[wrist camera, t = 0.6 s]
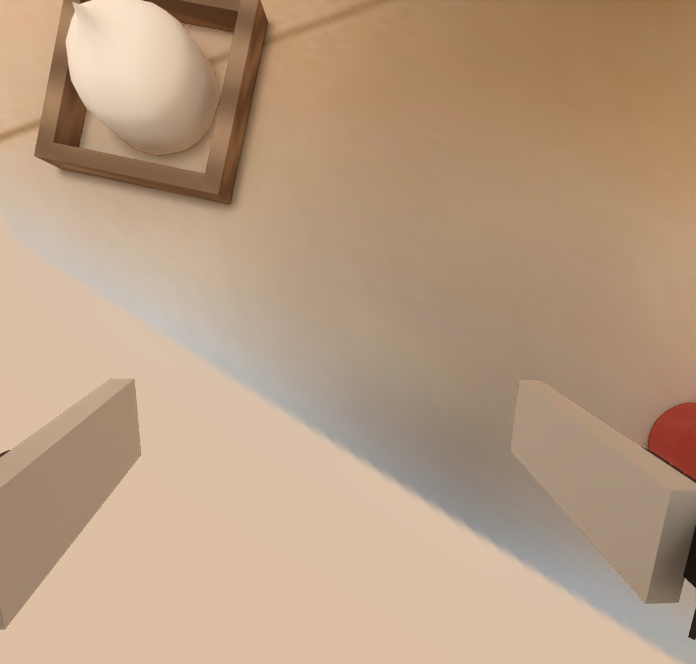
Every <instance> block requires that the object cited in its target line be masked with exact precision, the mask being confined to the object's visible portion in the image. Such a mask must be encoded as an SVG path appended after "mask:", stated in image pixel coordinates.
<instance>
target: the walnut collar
mask: <svg viewBox="0 0 696 664" xmlns="http://www.w3.org/2000/svg"><path fill="white" fill-rule="evenodd" d="M88 1H91V0H64V1H63V6H62V11H61V17H60V22H59V27H58V32H57V38H56V43H55V48H54V54H53V59H52V64H51V69H50V75H49V80H48V85H47V91H46V96H45V101H44V106H43V112H42V117H41V122H40V128H39V133H38V138H37V143H36V149H35V154H34V156H35V157H37V158H40V159H42V160H44V161H46V162H48V163H50V164H52V165H54V166H56V167H58V168H62V169H66V170H71V171H76V172H81V173H85V174H90V175H95V176H100V177H104V178H109V179H114V180H119V181H123V182H128V183H133V184H138V185H142V186H147V187H152V188H157V189H161V190H166V191H171V192H176V193H180V194H185V195H190V196H195V197H199V198H204V199H209V200H214V201H218V202H223V203H228V204H230V201H231V196H232V191H233V186H234V181H235V177H236V172H237V167H238V162H239V157H240V153H241V148H242V143H243V138H244V133H245V129H246V124H247V119H248V114H249V109H250V105H251V100H252V95H253V90H254V85H255V80H256V76H257V71H258V66H259V61H260V56H261V52H262V47H263V42H264V37H265V32H266V28H267V23H268V20H267V18H266V15H265V12H264V9H263V6H262V3H261V1H260V0H143V1H147V2H151V3H154V4H156V5H157V6H159V7H161V8H162V9H164V10H165V11H167V12H168V13H169V14H170V15H172V16H173V17H174V18H176V19H177V20H178V21H179V22H184V23H189V24H194V25H200V26H205V27H210V28H216V29H221V30H226V31H232V32H234V35H233V40H232V45H231V50H230V55H229V60H228V65H227V69H226V74H225V79H224V84H223V89H222V94H221V99H220V104H219V108H218V113H217V118H216V123H215V128H214V133H213V138H212V143H211V147H210V152H209V157H208V162H207V167H206V172H205V174H203V173H199V172H194V171H189V170H184V169H179V168H174V167H170V166H165V165H160V164H155V163H150V162H146V161H141V160H136V159H131V158H126V157H121V156H117V155H112V154H107V153H102V152H97V151H93V150H88V149H83V148H78V147H79V142H80V136H81V131H82V126H83V121H84V116H85V111H86V107H85V105H84V103H83V102H82V100H81V98H80V97H79V95H78V93H77V91H76V89H75V87H74V85H73V83H72V81H71V77H70V71H69V65H68V57H67V49H66V38H67V34H68V30H69V27H70V23H71V20H72V17H73V15H74V13H75V9H74V6H73V2H75V3H77V4H82V3H85V2H88Z"/></svg>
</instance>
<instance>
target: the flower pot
mask: <svg viewBox="0 0 696 664" xmlns="http://www.w3.org/2000/svg"><path fill="white" fill-rule="evenodd" d="M649 450H650V451H652V452H654V453H656V454H657V455H659V456H660V457H662V458H663V459H665V460H666V461H668V462H669V463H670V465H674V466H676V467H677V468H679V469H680V470H682V471H683V473H684V474H688V475H689V476H691V477H692V478H694V479H695V480H696V403H685V404H681V405H679V406H676V407H674V408H672V409H670V410H668V411H667V412H665V413H664V414H663V415H662V416H661V417H660V418H659V419H658V420H657V421H656V423H655V424H654V426H653V428H652V430H651V433H650V437H649Z"/></svg>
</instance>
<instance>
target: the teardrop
mask: <svg viewBox="0 0 696 664" xmlns="http://www.w3.org/2000/svg"><path fill="white" fill-rule="evenodd" d="M73 6H74V9H75V13H74V15H73V17H72V20H71V23H70V27H69V30H68V34H67V38H66V49H67V57H68V65H69V71H70V77H71V81H72V83H73V85H74V87H75V89H76V91H77V93H78V95H79V97H80V98H81V100H82V102H83V103H84V105H85V107H86V108H87V110H88V111H89V112H91V113H92V114H93V115H94V116H95V117H97V118H98V119H99V120H100V121H101V122H102V123H104V124H105V125H106V126H107V127H108V128H110V129H111V130H112V131H113V132H114V133H116V134H117V135H118V136H119V137H120V138H122V139H123V140H124V141H125V142H126V143H127V144H129V145H130V146H131V147H132V148H134V149H138V150H141V151H144V152H147V153H150V154H154V155H157V156H159V155H165V154H170V153H176V152H181V151H184V150H186V149H188V148H189V147H191V146H192V145H194V144H195V143H197V142H198V141H200V139H201V138H202V137H203V136H204V134H205V133H206V132H207V131H208V129H209V128H210V127H211V125H212V122H213V118H214V115H215V112H216V108H217V105H218V102H219V95H218V88H217V82H216V75H215V71H214V70H213V68H212V66H211V65H210V63H209V61H208V60H207V58H206V56H205V55H204V54H203V52H202V51H201V50H200V48H199V47H198V45H197V44H196V43H195V41H194V40H193V39H192V37H191V36H190V35H189V33H188V32H187V31H186V29H185V28H184V26H183V25H182V24H181V22H179V21H178V20H177V19H176V18H174V17H173V16H172V15H170V14H169V13H168V12H167V11H165V10H164V9H162V8H161V7H159V6H157V5H156V4H154V3H151V2H147V1H143V0H91V1H88V2H85V3H82V4H77V3H75V2H73Z"/></svg>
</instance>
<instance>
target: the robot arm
mask: <svg viewBox="0 0 696 664" xmlns="http://www.w3.org/2000/svg"><path fill="white" fill-rule="evenodd" d="M510 451H511V452H512V454H513V455H514V456H515V457H516V458H517V459H518V460H519V461H520V463H521V464H522V465H523V466H524V467H525V468H526V469H527V470H528V472H529V473H530V474H531V475H532V476H533V477H534V478H535V479H536V481H537V482H538V483H539V484H540V485H541V486H542V487H543V489H544V490H545V491H546V492H547V493H548V494H549V495H550V496H551V498H552V499H553V500H554V501H555V502H556V503H557V504H558V505H559V507H560V508H561V509H562V510H563V511H564V512H565V513H566V514H567V516H568V517H569V518H570V519H571V520H572V521H573V522H574V524H575V525H576V526H577V527H578V528H579V529H580V530H581V531H582V533H583V534H584V535H585V536H586V537H587V538H588V539H589V540H590V542H591V543H592V544H593V545H594V546H595V547H596V548H597V549H598V551H599V552H600V553H601V554H602V555H603V556H604V557H605V559H606V560H607V561H608V562H609V563H610V564H611V565H612V566H613V568H614V569H615V570H616V571H617V572H618V573H619V574H620V575H621V577H622V578H623V579H624V580H625V581H626V582H627V583H628V584H629V586H630V587H631V588H632V589H633V590H634V591H635V592H636V594H637V595H638V596H639V597H640V598H641V599H642V600H643V601H644V603H645V604H649V603H674V602H679V598H680V594H681V590H682V586H683V582H684V578H686V579H687V580H688V581H689V582H690V583H691V584H692V585H693V586H694V587H695V588H696V480H695V479H694V478H692V477H691V476H689V475H688V474H684V473H683V471H682V470H680V469H679V468H677V467H676V466H674V465H670V463H669V462H668V461H666V460H665V459H663V458H662V457H660V456H659V455H657V454H656V453H654V452H652V451H650V450H647V449H645V448H643V447H641V446H639V445H637V444H636V443H634V442H633V441H631V440H630V439H628V438H627V437H625V436H624V435H622V434H621V433H619V432H618V431H616V430H615V429H613V428H612V427H610V426H609V425H607V424H606V423H604V422H603V421H601V420H600V419H598V418H597V417H595V416H594V415H592V414H591V413H589V412H588V411H586V410H585V409H583V408H582V407H580V406H579V405H577V404H576V403H574V402H572V401H571V400H569V399H568V398H566V397H565V396H563V395H562V394H560V393H559V392H557V391H556V390H554V389H553V388H551V387H550V386H548V385H547V384H545V383H544V382H542V381H541V380H519V386H518V394H517V402H516V410H515V418H514V425H513V433H512V441H511V449H510ZM140 456H141V447H140V436H139V425H138V413H137V402H136V390H135V380H134V379H109V380H108V381H106V382H105V383H104V384H102V385H101V386H99V387H98V388H97V389H95V390H94V391H92V392H91V393H90V394H88V395H87V396H85V397H84V398H83V399H81V400H80V401H78V402H77V403H76V404H74V405H73V406H72V407H70V408H69V409H67V410H66V411H65V412H63V413H62V414H60V415H59V416H58V417H56V418H55V419H53V420H52V421H51V422H49V423H48V424H46V425H45V426H44V427H42V428H41V429H39V430H38V431H37V432H35V433H34V434H32V435H31V436H30V437H28V438H27V439H26V440H24V441H23V442H21V443H20V444H19V445H17V446H16V447H14V448H13V449H12V450H8V451H6V452H3V453H1V454H0V630H1V629H6V627H7V626H8V625H9V623H10V622H11V621H12V619H13V618H14V617H15V616H16V614H17V613H18V612H19V611H20V609H21V608H22V607H23V606H24V604H25V603H26V602H27V600H28V599H29V598H30V596H31V595H32V594H33V593H34V591H35V590H36V589H37V588H38V586H39V585H40V584H41V582H42V581H43V580H44V579H45V577H46V576H47V575H48V574H49V572H50V571H51V570H52V568H53V567H54V566H55V565H56V563H57V562H58V561H59V559H60V558H61V557H62V555H63V554H64V553H65V552H66V550H67V549H68V548H69V547H70V545H71V544H72V543H73V541H74V540H75V539H76V538H77V536H78V535H79V534H80V533H81V531H82V530H83V529H84V527H85V526H86V525H87V523H88V522H89V521H90V520H91V518H92V517H93V516H94V514H95V513H96V512H97V511H98V509H99V508H100V507H101V506H102V504H103V503H104V502H105V501H106V499H107V498H108V497H109V495H110V494H111V493H112V492H113V490H114V489H115V488H116V486H117V485H118V484H119V483H120V481H121V480H122V479H123V477H124V476H125V475H126V474H127V472H128V471H129V470H130V468H131V467H132V466H133V464H134V463H135V462H136V461H137V459H138V458H139V457H140ZM688 637H689V638H692V639H694V640H695V639H696V609H695V613H694V617H693V621H692V625H691V628H690V632H689V636H688Z"/></svg>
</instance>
